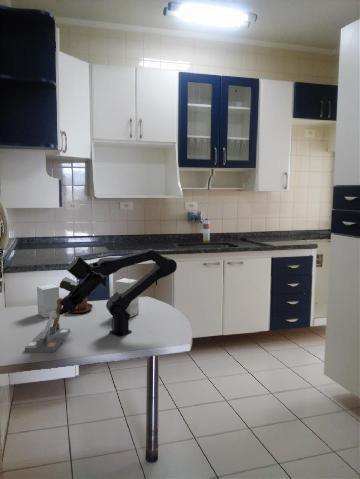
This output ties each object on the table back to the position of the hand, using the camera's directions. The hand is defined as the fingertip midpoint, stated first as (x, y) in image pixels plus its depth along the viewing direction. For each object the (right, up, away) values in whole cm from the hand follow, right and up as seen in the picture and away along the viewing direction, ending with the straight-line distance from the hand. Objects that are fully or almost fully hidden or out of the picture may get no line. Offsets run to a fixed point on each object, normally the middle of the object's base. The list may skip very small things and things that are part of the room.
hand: (60, 313), depth 158 cm
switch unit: (-3, -9, -5) cm, 11 cm away
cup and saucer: (0, -4, +31) cm, 31 cm away
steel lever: (-3, -7, -12) cm, 14 cm away
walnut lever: (-2, -6, +1) cm, 6 cm away
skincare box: (+22, -5, +26) cm, 35 cm away
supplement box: (-12, -5, +26) cm, 29 cm away
